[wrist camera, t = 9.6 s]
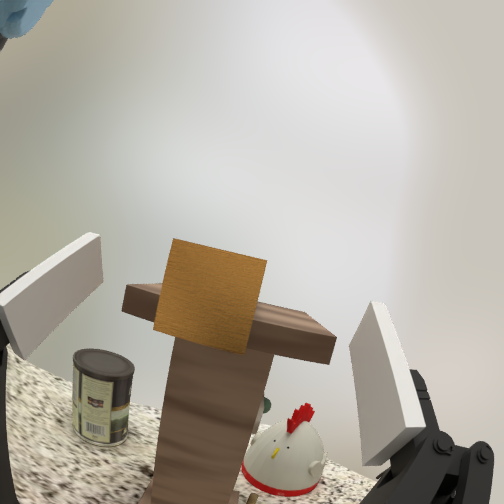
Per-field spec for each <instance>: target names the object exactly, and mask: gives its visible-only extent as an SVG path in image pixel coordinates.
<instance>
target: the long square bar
mask: <svg viewBox="0 0 504 504" xmlns="http://www.w3.org/2000/svg"><path fill="white" fill-rule="evenodd" d="M266 263H267V260H263V259H259V258H254V257H250V256H246V255H242V254H237V253H233V252H229V251H224V250H221V249H216V248H212V247H208V246H204V245H200V244H195V243H191V242H187V241H183V240H179V239H173V242H172V246H171V250H170V254H169V258H168V262H167V266H166V270H165V275H164V279H163V284H162V288H161V293H160V297H159V302H158V307H157V312H156V317H155V322H154V327H153V330H156V331H159V332H162V333H165V334H168V335H171V336H174V337H178V338H181V339H184V340H188V341H191V342H195V343H198V344H202V345H205V346H209V347H212V348H216V349H220V350H224V351H228V352H232V353H236V354H240V355H244V354H245V350H246V346H247V342H248V338H249V334H250V330H251V326H252V322H253V318H254V313H255V309H256V305H257V301H258V297H259V293H260V288H261V284H262V280H263V276H264V272H265V267H266Z"/></svg>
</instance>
